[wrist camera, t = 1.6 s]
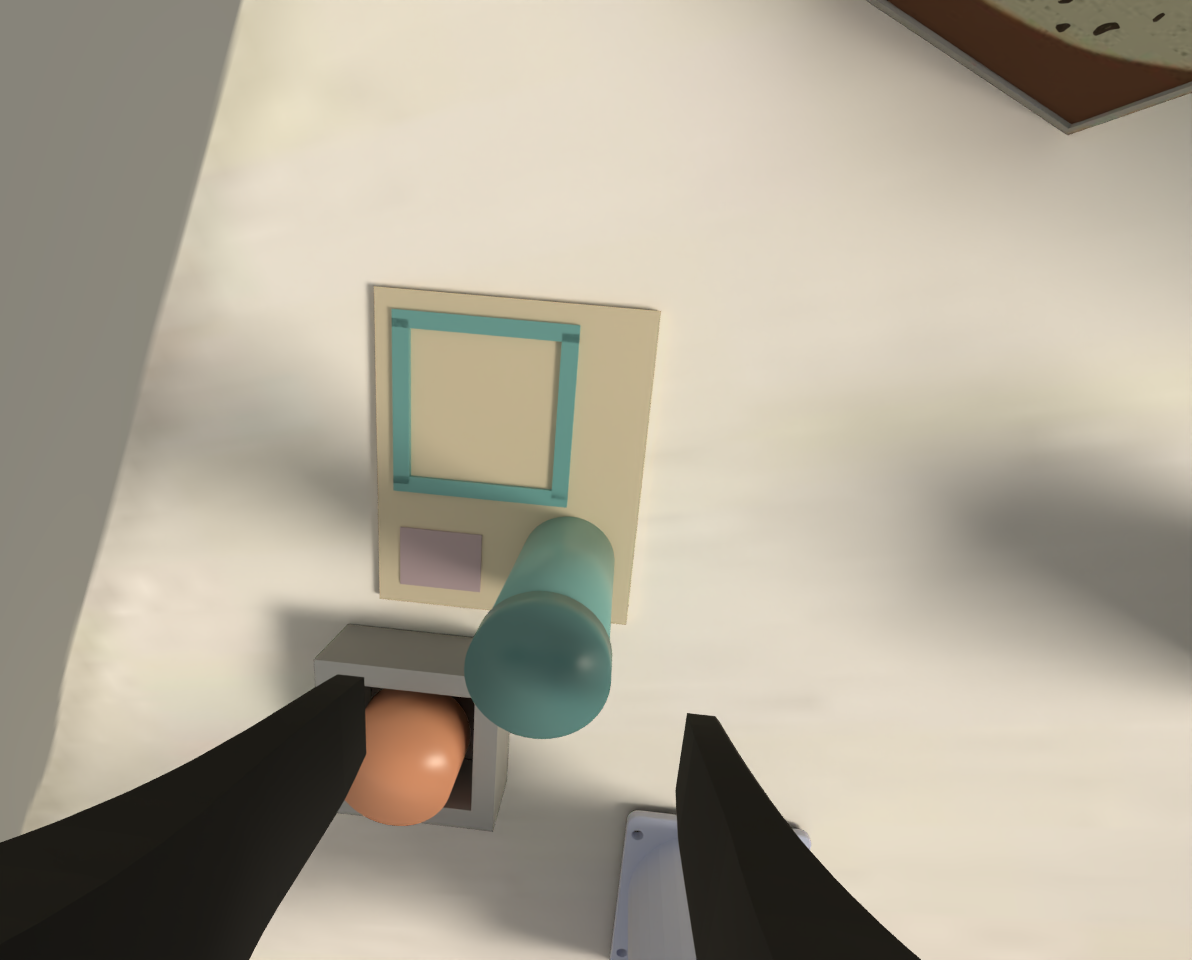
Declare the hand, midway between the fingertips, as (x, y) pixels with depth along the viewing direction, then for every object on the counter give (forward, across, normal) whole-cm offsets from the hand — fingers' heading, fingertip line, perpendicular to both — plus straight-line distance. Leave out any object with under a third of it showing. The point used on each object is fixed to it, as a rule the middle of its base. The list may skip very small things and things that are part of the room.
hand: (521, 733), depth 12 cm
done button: (+8, +6, +7) cm, 13 cm away
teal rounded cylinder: (+10, 0, 0) cm, 10 cm away
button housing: (+10, +6, +8) cm, 14 cm away
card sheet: (+10, +2, -4) cm, 11 cm away
